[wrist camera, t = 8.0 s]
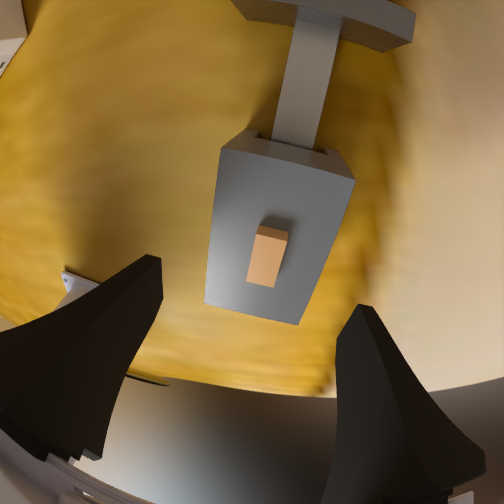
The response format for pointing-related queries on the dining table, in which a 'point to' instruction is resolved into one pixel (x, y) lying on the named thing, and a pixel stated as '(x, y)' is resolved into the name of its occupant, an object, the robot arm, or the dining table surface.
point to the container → (10, 30)
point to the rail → (322, 51)
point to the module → (273, 225)
